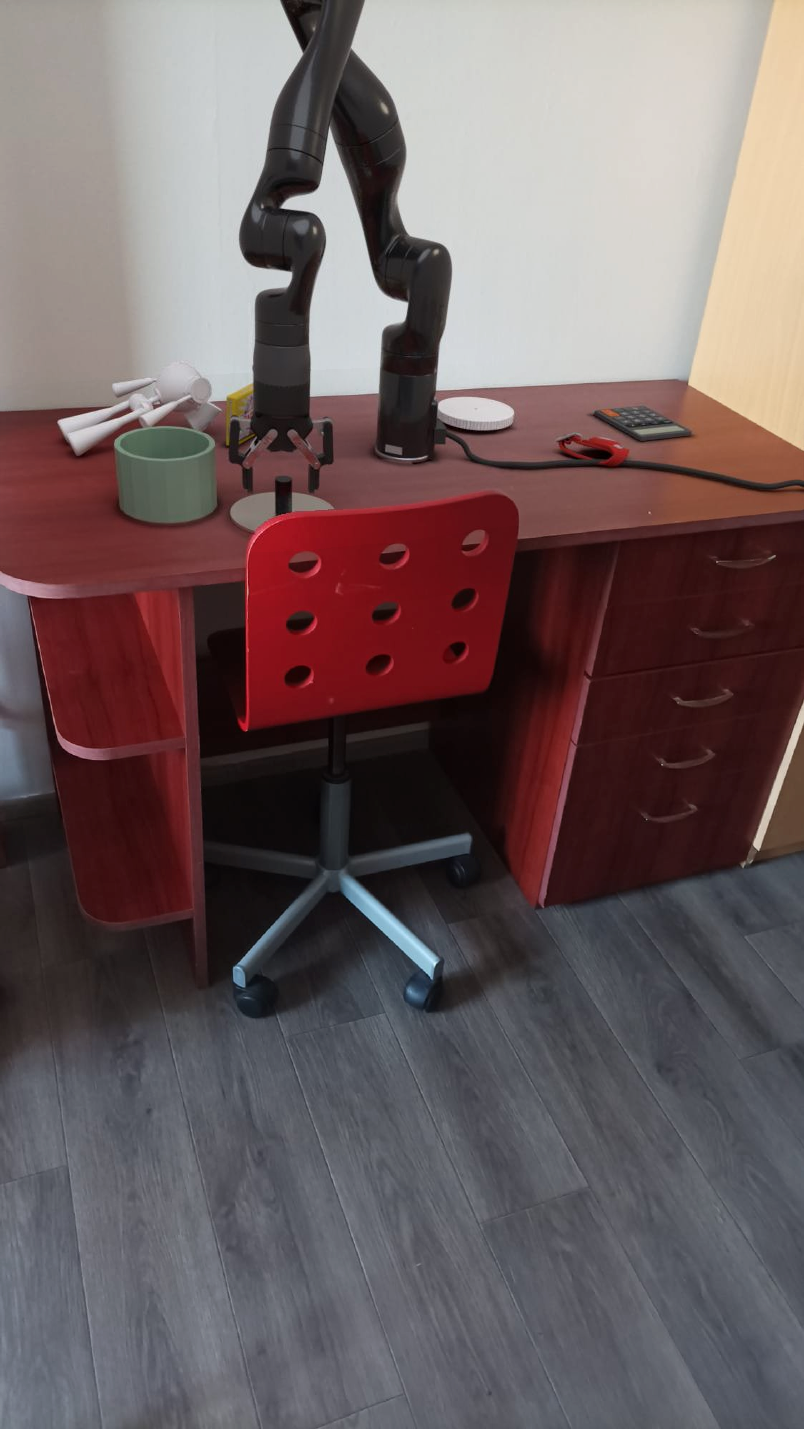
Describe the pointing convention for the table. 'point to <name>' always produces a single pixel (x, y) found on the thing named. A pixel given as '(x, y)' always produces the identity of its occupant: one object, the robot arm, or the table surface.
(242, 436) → the candy box
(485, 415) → the plastic lid
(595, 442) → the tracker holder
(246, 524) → the lid
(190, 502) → the tin
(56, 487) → the table surface
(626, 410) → the calculator
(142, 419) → the toy robot
